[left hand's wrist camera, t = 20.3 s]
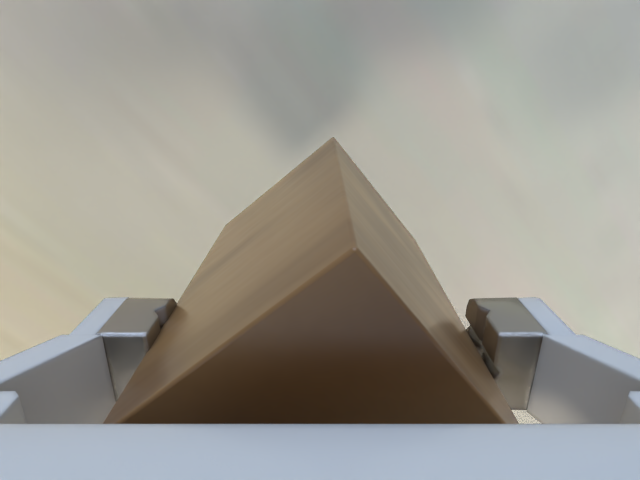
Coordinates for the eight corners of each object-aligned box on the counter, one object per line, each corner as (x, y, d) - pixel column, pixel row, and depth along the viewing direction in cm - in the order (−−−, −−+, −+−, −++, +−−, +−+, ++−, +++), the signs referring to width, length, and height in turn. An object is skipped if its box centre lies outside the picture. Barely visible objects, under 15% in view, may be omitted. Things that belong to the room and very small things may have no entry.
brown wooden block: (415, 240, 15) (546, 471, 7) (309, 315, 17) (296, 603, 8) (333, 136, 14) (356, 245, 5) (224, 225, 15) (88, 443, 6)
